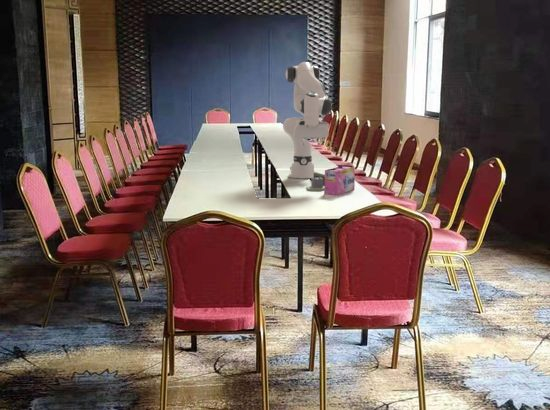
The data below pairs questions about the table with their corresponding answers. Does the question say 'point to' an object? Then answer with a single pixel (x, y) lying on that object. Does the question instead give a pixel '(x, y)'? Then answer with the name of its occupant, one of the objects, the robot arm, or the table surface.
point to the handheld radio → (317, 175)
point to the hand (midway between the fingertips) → (310, 145)
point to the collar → (317, 182)
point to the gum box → (339, 180)
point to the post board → (315, 188)
